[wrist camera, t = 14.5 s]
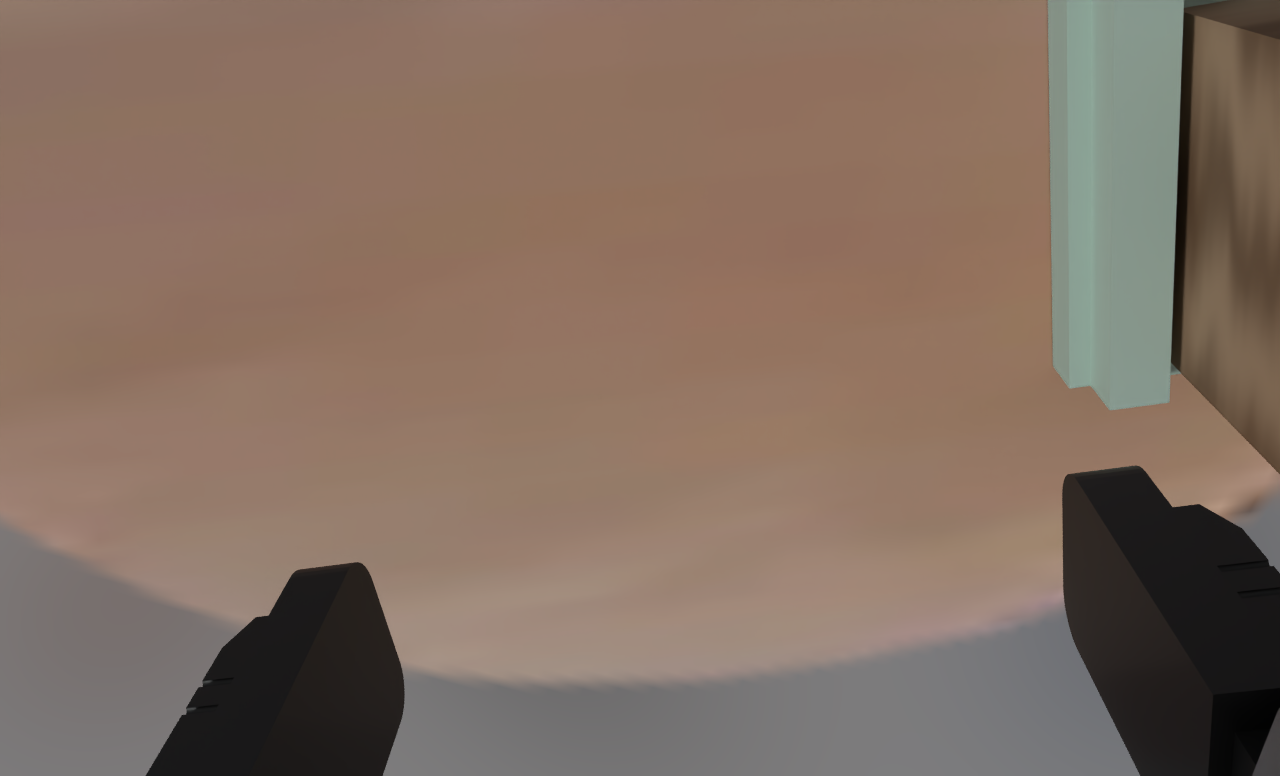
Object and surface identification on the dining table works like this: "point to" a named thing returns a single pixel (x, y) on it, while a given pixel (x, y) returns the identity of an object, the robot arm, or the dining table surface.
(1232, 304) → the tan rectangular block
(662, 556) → the dining table surface
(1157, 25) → the picture ledge
